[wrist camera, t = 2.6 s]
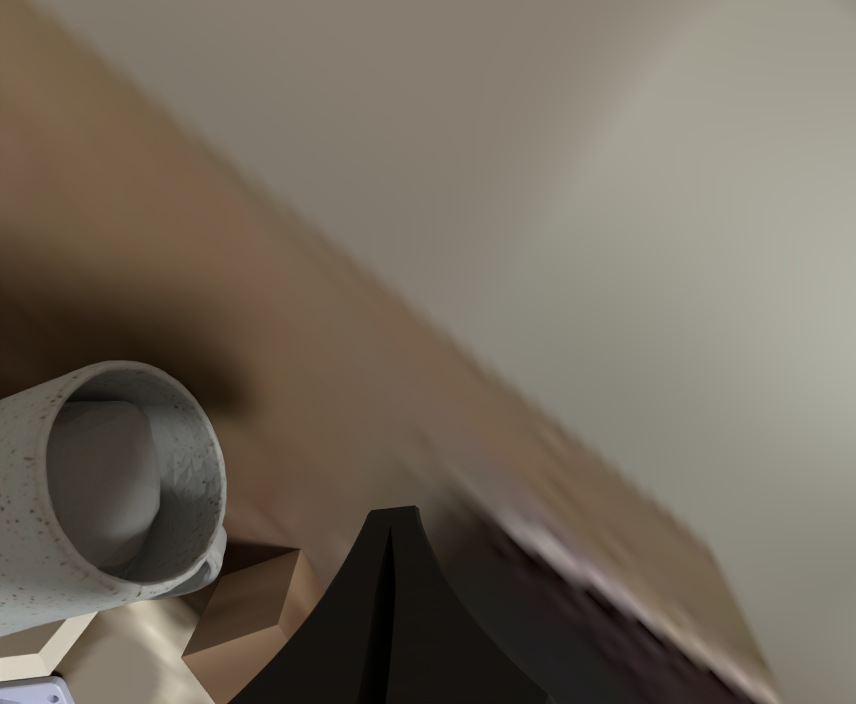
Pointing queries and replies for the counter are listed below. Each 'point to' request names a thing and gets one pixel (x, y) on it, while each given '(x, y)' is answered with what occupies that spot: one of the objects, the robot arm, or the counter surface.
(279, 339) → the counter surface
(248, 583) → the walnut block
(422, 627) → the robot arm
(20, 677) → the frame
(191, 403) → the ceramic mug
